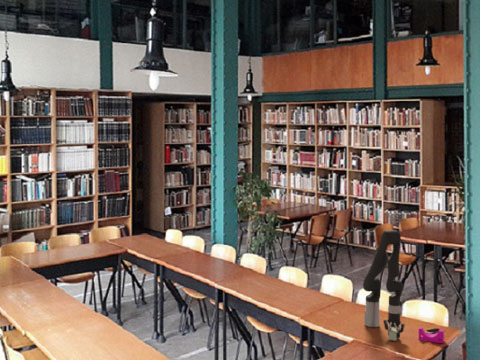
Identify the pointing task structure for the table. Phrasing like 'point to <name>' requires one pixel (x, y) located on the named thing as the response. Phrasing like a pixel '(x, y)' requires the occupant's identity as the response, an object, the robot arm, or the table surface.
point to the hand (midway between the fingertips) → (394, 337)
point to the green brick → (393, 334)
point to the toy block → (431, 336)
